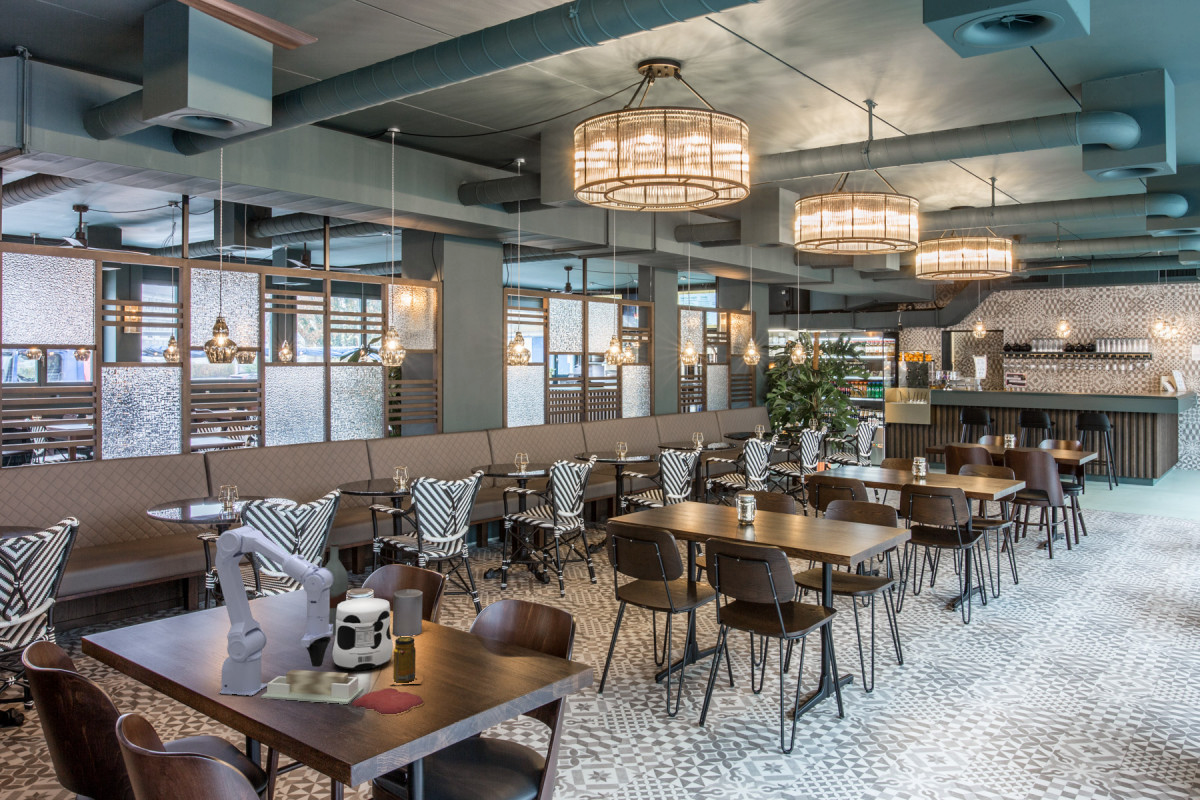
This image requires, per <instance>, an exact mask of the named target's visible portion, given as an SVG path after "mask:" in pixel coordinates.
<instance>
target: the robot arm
mask: <svg viewBox="0 0 1200 800" xmlns="http://www.w3.org/2000/svg"><path fill="white" fill-rule="evenodd" d="M215 546H216V549H217V550H216V554H215V560H214V563H215V565H214V566H215V568H216V569H215V570H216V571H217V576H218V580H219V584H220V588H221V591H222V595H223V599H224V602H225V607H226V610H227V615H228V618H229V621H230V622H229V623H230V629H229V631H228V633H227V635H226V637H227V649H226V652H227V653H228V654H227V655H228V657H227V658H225V660H224V661H223V664H222V667H221V688H220V689H221V690H220V691H219V694H220V693H221V695H232V694H237V695H236V696H246V695H249V697H251V696H252V695H253V696H255V695H256V694H257V693H259V692H260V691H262V690H263V689H264V688H267V683H263V682H262V654H263V649H264V648H265V647H266V645H267V642H268V639H267V638H268V637H267V635H266V633H265V632H264V630H263V629H262V627H261V625H260V622H259V621H257V620H255V619H254V618H253V615H252V614H253V613H252V611H251V607H250V602H249V599H248V596H247V591H246V587H245V584H244V581H243V576H242V573H241V568H240V565H239V563H240V562H241V560H242V558H243V557H244V555H245V554H246V553H253V552H254V553H259V554H260V555H262V556H263V557H265V558H267V559H269V560H271V561H273V562H274V563H276V564H278V565H280V566H281V568H282V569H281V570H282V572H283V573H284V575H285V574H286V576H288V577H290V578H292V579H293V580H295V581H296V582H297V583H299V584H300V585H302V587H303V590H304V591H305V592H306V626H305V627H306V631H305V633H304V636H303V637H302V638H301V640H300V647H301V648H306V650H307V652H308V654H309V658H310V662H311V666H312V667H315V668H316V667H317V668H320V667H321V666H322V665H323V662H324V659H325V654H326V651H327V649H328V645H329V644H330V642H331V638H332V637H331V636H333V635H332V634H333V624H329V601H330V588H329V587H330V586H331V585H332V584H333V580H334V578H333V574H332V573H331V572H330V571H329V570H328V569H327V568H325V567H320V566H319V565H318V564H314V563H311V562H310V561H308V560H307V558H306V559H305V555H303V554H297V553H295V554H289V553H288V552H287V551H285V550H284V549H283V548H281V547H280V546H279V545H277V544H276V543H274V542H273V541H272V540H270V539H269V538H268V537H266V536H265V535H264V534H263V532H262V531H261V530H259V529H257V528H255V527H254V526H252V525H249V524H247V525H243V526H241V527H238V528H234V529H231V530H225V531H224V532H222V533H221V534H220V535H219V537H218V539H217V540H216V541H215ZM328 588H329V589H328ZM326 589H327V590H326ZM261 689H262V690H261Z"/></svg>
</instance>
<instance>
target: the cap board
mask: <svg viewBox="0 0 1200 800" xmlns="http://www.w3.org/2000/svg"><path fill="white" fill-rule="evenodd" d="M364 689H365V688H364V687H359V686H358V691H357V692H356V693H355V694H353V695H352V696H351V697H350V698H349V699H348V698H334V697H331V695H321V694H306V693H291V692H290V694H274V693H267V691H266V692H265V693H263V694H262V695H261V696H260V699H261V698H274V699H287V700H298V701H297V702H299V701H311V702H310V703H314V702H327V703H326V704H329V703H339V704H338V705H343V704H348V703H349V704H350V703H351V701H352V700H353V699H354V698H355V697H356V696H357V695H358V694H359V695H361V694H362V693H363V692H364V691H363V690H364ZM362 691H363V692H362ZM361 692H362V693H361ZM360 693H361V694H360ZM359 695H358V696H359ZM358 696H357V697H358ZM357 697H356V698H357ZM356 698H355V699H356ZM355 699H354V700H355ZM354 700H353V701H354ZM353 701H352V702H353ZM349 704H348V705H349Z"/></svg>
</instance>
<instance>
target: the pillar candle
mask: <svg viewBox="0 0 1200 800" xmlns="http://www.w3.org/2000/svg"><path fill="white" fill-rule="evenodd" d="M423 593H424V592H423V591H421V590H419V589H411V588H410V589H409V588H407V589H401V590H399V589H398V590H397V591H394V592H393V599H392V600H393V601H392V602H393V605H392V607H393V608H392V635H393V636H394V635H395V637H398V636H412V637H414V636H413V635H417V634H418V635H420V634H422V633H423V631H422V630H423V627H422V626H423V622H422V621H423ZM418 635H417V636H418Z"/></svg>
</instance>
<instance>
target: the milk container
mask: <svg viewBox="0 0 1200 800" xmlns="http://www.w3.org/2000/svg"><path fill="white" fill-rule="evenodd" d="M390 615H391V605H390V601H388V600H386V599H382V598H378V597H377V598H375V597H362V598H359V597H358V598H353V599H346V601H344V602H341V603H339V604H338V606H337V613H336V635H334V640H333V643H332V644H333V645H332V648H331V651H332V659H333V662H334V664H335V665H336V666H338V667H339V668H342V669H345V670H353V671H358V670H361V671H363V670H370V669H375V668H377V667H382V666H383V665H385V664H386V663H388V662H389V661H390V660H391V657H392V655H393V650H394V649H393V648H394V647H393V639H392V635H391V630H390V629H391V627H390V626H391V616H390Z"/></svg>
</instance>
